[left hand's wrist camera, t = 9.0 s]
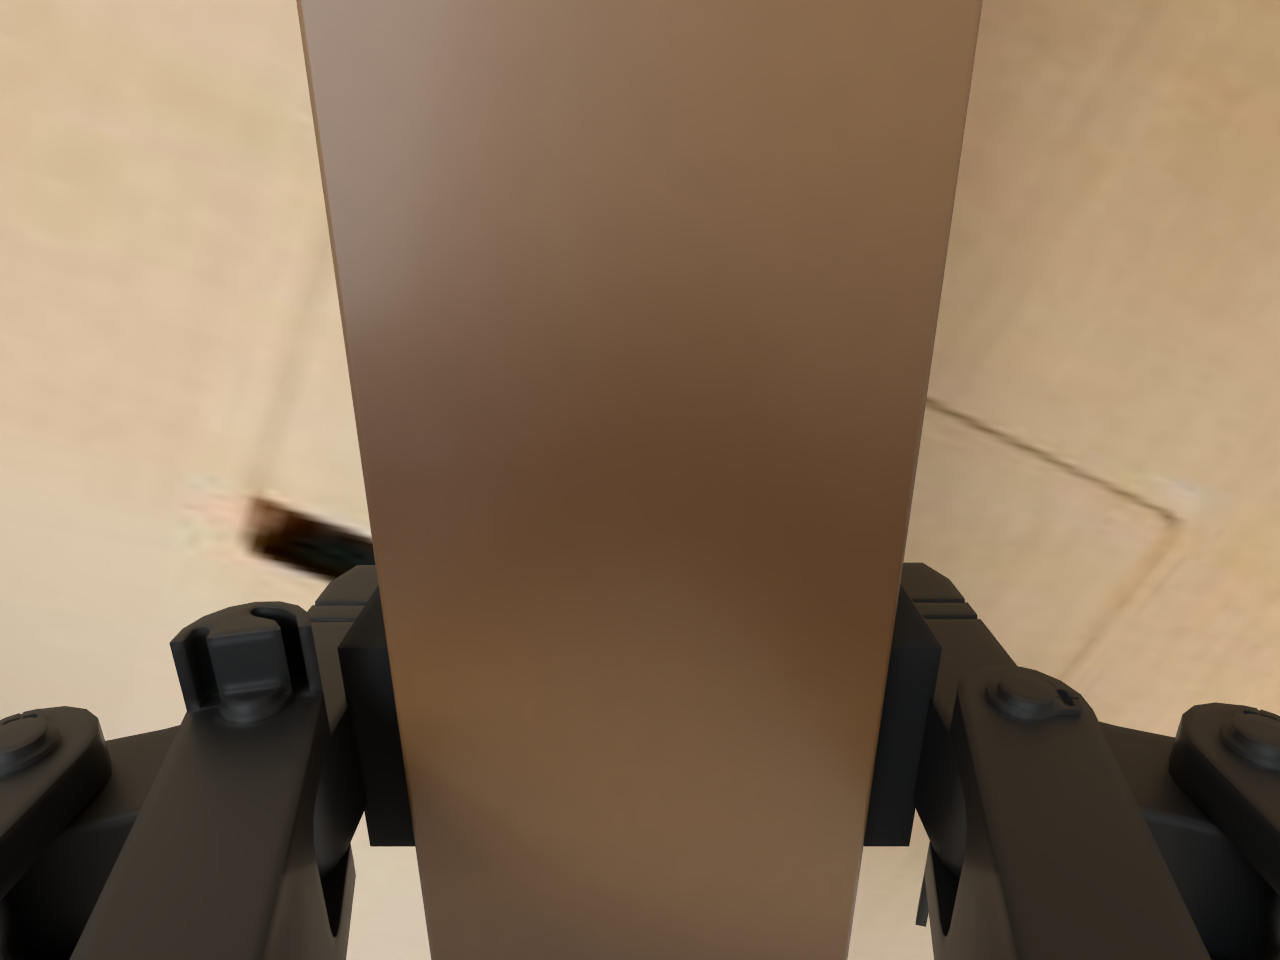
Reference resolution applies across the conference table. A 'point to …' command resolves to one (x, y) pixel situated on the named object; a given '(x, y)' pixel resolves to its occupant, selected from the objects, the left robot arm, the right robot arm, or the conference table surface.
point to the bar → (639, 440)
